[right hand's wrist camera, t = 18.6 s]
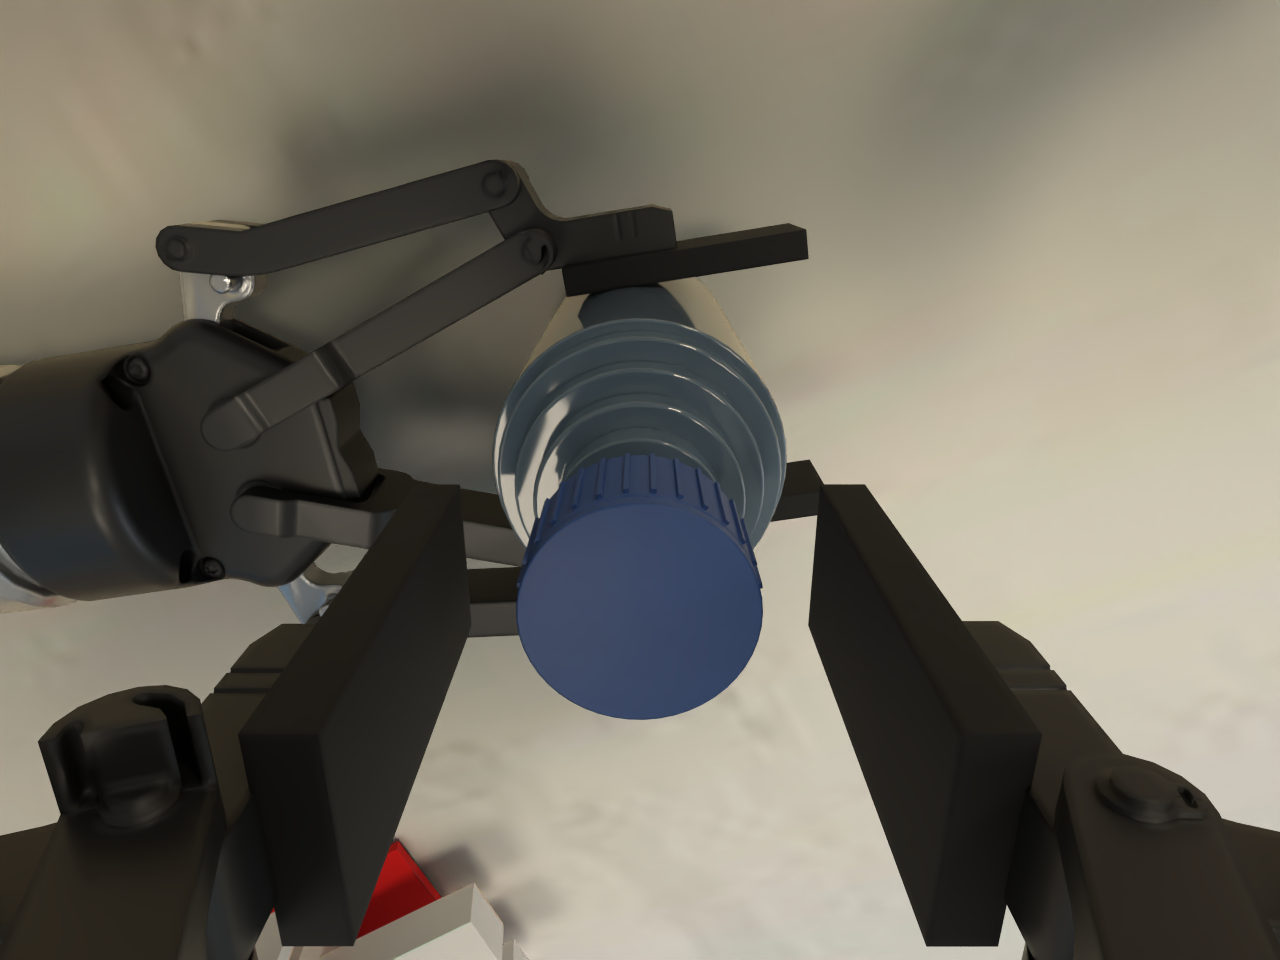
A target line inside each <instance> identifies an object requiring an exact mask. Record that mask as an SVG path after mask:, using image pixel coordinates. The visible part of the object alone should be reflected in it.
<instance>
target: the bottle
mask: <svg viewBox="0 0 1280 960" xmlns="http://www.w3.org/2000/svg"><path fill="white" fill-rule="evenodd" d="M625 453H630V455H650V453H654V454H655V456H657V457H664V458H668V459H671V460H674V458H677V459H679V462H681V463H683V464H685V465H688V466H690V467H692V468H694V469H695V470H696V468H699V469H701V472H702V474H704V475H705V476H706V477H708V478H709V479H710V480H712V481H713V482H714V483H715V482H716V481H717V482H718V483H719V484H720V486H721V490H722V491H723V492H724V493H725V495H726V496H727V497H728V499H729V500H730V499H733V500H734V502H735V505H736V508H737V512H738V515H739V518H740V519H742V518H743V519H744V521H745V525H746V528H747V531H748V535H749V538H750V542H751V545H752V548H753V549H754V547H755V546H756V545H757V543H758V542H759V541H760V539H761V538H762V536H763V534H764V532H765V531H766V529H767V527H768V525H769V523H770V521H771V518H772V516H773V514H774V513H775V510H776V507H777V505H778V502H779V500H780V497H781V493H782V489H783V485H784V481H785V474H786V463H787V455H786V440H785V434H784V429H783V424H782V421H781V418H780V415H779V412H778V409H777V406H776V404H775V402H774V400H773V398H772V396H771V394H770V392H769V390H768V388H767V387H766V385H765V383H764V381H763V380H762V378H761V376H760V375H759V373H758V371H757V369H756V368H755V366H754V364H753V362H752V361H751V359H750V357H749V356H748V354H747V352H746V350H745V349H744V347H743V345H742V344H741V342H740V340H739V338H738V337H737V335H736V333H735V331H734V330H733V328H732V326H731V325H730V323H729V321H728V319H727V318H726V316H725V314H724V312H723V311H722V309H721V307H720V306H719V304H718V302H717V301H716V299H715V298H714V296H713V295H712V293H711V292H710V291H709V290H708V289H707V288H706V286H705V285H704V284H703V283H702V282H701V281H699V280H698V279H697V278H696V277H692V278H685V279H679V280H673V281H667V282H660V283H654V284H648V285H641V286H635V287H629V288H623V289H616V290H610V291H604V292H597V293H591V294H585V295H579V296H572V297H567V295H566V297H565V298H564V299H563V301H562V303H561V305H560V306H559V308H558V310H557V311H556V313H555V315H554V317H553V318H552V320H551V322H550V324H549V325H548V327H547V329H546V330H545V332H544V334H543V336H542V337H541V339H540V341H539V342H538V344H537V346H536V348H535V349H534V351H533V353H532V354H531V356H530V358H529V360H528V361H527V363H526V365H525V367H524V368H523V370H522V372H521V373H520V375H519V377H518V379H517V380H516V382H515V384H514V386H513V387H512V389H511V391H510V393H509V394H508V396H507V398H506V400H505V402H504V405H503V407H502V410H501V412H500V415H499V417H498V421H497V425H496V429H495V434H494V441H493V452H492V458H493V474H494V479H495V485H496V490H497V493H498V496H499V499H500V502H501V505H502V508H503V510H504V512H505V514H506V516H507V518H508V521H509V523H510V525H511V527H512V529H513V531H514V533H515V534H516V536H517V537H518V539H519V540H520V542H521V543H522V545H523V546H524V548H525V549H526V548H527V544H528V541H529V538H530V534H531V531H532V528H533V524H534V521H535V518H536V517H537V518H540V516H541V512H542V509H543V505H544V502H545V500H546V498H549V499H550V498H551V497H552V496H553V495H554V493H555V492H556V491H557V490H558V488H559V484H560V483H561V482H562V481H564V482H566V481H567V480H568V479H570V478H571V477H572V476H574V475H575V474H577V473H578V469H580V468H581V467H583V468H584V469H585V468H587V467H589V466H591V465H593V464H596V463H599V462H600V461H601V459H602V458H606V460H607V459H611V458H616V457H620V456H625Z"/></svg>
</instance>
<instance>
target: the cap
mask: <svg viewBox="0 0 1280 960" xmlns="http://www.w3.org/2000/svg"><path fill="white" fill-rule="evenodd" d="M516 587H518V588H519V589H518V594H517V602H516V621H517V627H518V633H519V637H520V640H521V643H522V646H523V648H524V650H525V652H526V654H527V656H528V658H529V660H530V662H531V663H532V665H533V666H534V668H535V669H536V671H537V672H538V674H539V675H540V676H541V677H542V678H543V679H544V680H545V681H546V682H547V684H549V685H550V686H551V687H552V688H553V689H554V690H555V691H557V692H558V693H559V694H560V695H562V696H563V697H565V698H566V699H568V700H569V701H571V702H573V703H575V704H577V705H579V706H581V707H583V708H585V709H587V710H590V711H593V712H596V713H598V714H602V715H606V716H610V717H615V718H622V719H636V720H646V719H658V718H663V717H668V716H674V715H677V714H680V713H683V712H686V711H689V710H691V709H694V708H696V707H698V706H700V705H702V704H704V703H706V702H707V701H709V700H711V699H712V698H714V697H716V696H717V695H718V694H719V693H721V692H722V691H723V690H725V689H726V688H727V687H728V686H729V685H730V684H731V683H732V682H733V681H734V680H735V679H736V678H737V677H738V675H739V674H740V673H741V672H742V670H743V669H744V668H745V666H746V665H747V663H748V661H749V659H750V658H751V656H752V654H753V652H754V650H755V647H756V645H757V642H758V639H759V635H760V631H761V627H762V616H763V606H762V596H761V591H760V588H763V587H762V582H761V578H760V575H759V571H758V568H757V562H756V558H755V555H754V552H753V548H752V545H751V542H750V538H749V535H748V531H747V528H746V525H745V521H744V519H743V518H742V519H740V518H739V515H738V512H737V508H736V505H735V502H734V500H733V499H730V500H729V499H728V497H727V496H726V495H725V493H724V492H723V491H722V490H721V486H720V484H719V483H718V482H717V481H716V482H715V483H714V482H713V481H712V480H710V479H709V478H708V477H706V476H705V475H704V474H702V472H701V469H699V468H696V470H695V469H694V468H692V467H690V466H688V465H685V464H683V463H681V462H679V459H677V458H674V460H671V459H668V458H664V457H657V456H655V454H654V453H650V455H630V453H625V456H620V457H616V458H611V459H607V460H606V458H602V459H601V461H600V462H599V463H596V464H593V465H591V466H589V467H587V468H585V469H584V468H583V467H581V468H580V469H578V473H577V474H575V475H574V476H572V477H571V478H570V479H568V480H567V481H566V482H564V481H562V482H561V483H560V484H559V488H558V490H557V491H556V492H555V493H554V495H553V496H552V497H551V498H550V499H549V498H546V500H545V502H544V505H543V509H542V512H541V516H540V518H537V517H536V518H535V521H534V524H533V528H532V531H531V534H530V538H529V541H528V544H527V548H526V551H525V554H524V558H523V561H522V567H521V570H520V574H519V577H518V581H517V585H516Z"/></svg>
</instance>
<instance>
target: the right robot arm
mask: <svg viewBox="0 0 1280 960" xmlns="http://www.w3.org/2000/svg"><path fill="white" fill-rule="evenodd" d="M471 626H472V623H471V611H470V599H469V587H468V575H467V563H466V551H465V539H464V527H463V515H462V503H461V491H460V485H414V487H413V488H412V490H411V491H410V492H409V494H408V495H407V497H406V498H405V500H404V501H403V502H402V504H401V505H400V507H399V508H398V509H397V511H396V512H395V514H394V515H393V516H392V518H391V519H390V521H389V522H388V523H387V525H386V526H385V528H384V529H383V530H382V532H381V533H380V535H379V536H378V538H377V539H376V540H375V542H374V543H373V545H372V546H371V547H370V549H369V550H368V552H367V553H366V554H365V556H364V557H363V559H362V560H361V561H360V563H359V564H358V566H357V567H356V568H355V570H354V571H353V573H352V574H351V576H350V577H349V578H348V580H347V581H346V583H345V584H344V585H343V587H342V588H341V590H340V591H339V592H338V594H337V595H336V597H335V598H334V599H333V601H332V602H331V604H330V605H329V606H328V608H327V609H326V611H325V612H324V613H323V615H322V616H321V618H320V619H319V621H318V622H317V623H316V624H281V625H280V626H278V627H277V628H275V629H273V630H272V631H270V632H269V633H267V634H266V635H264V636H262V637H261V638H259V639H258V640H256V641H255V642H253V643H252V644H250V645H249V646H248V648H247V649H246V650H245V651H244V653H243V654H242V655H241V656H240V657H239V659H238V660H237V661H236V662H235V664H234V665H233V666H232V667H231V672H230V673H226V675H225V676H224V677H223V678H222V679H221V681H220V682H219V683H218V684H217V686H216V687H215V688H214V693H210V694H209V695H208V697H207V698H206V699H205V700H204V701H203V703H202V704H201V703H200V699H199V698H198V697H196V696H195V695H194V694H193V693H191V692H190V691H189V690H188V689H183V688H178V687H173V686H168V685H160V686H145V687H136V688H132V689H128V690H124V691H120V692H116V693H112V694H108V695H106V696H103V697H101V698H99V699H96V700H94V701H92V702H89V703H87V704H85V705H82V706H80V707H78V708H76V709H75V710H73V711H72V712H70V713H69V714H67V715H66V716H64V717H63V718H61V719H60V720H58V721H57V722H55V723H54V724H53V725H52V726H51V727H50V728H49V729H48V731H47V732H46V733H45V734H44V735H43V736H42V737H41V739H40V740H39V741H38V744H39V747H40V750H41V753H42V756H43V760H44V763H45V766H46V769H47V772H48V776H49V779H50V782H51V785H52V788H53V791H54V795H55V798H56V801H57V804H58V807H59V810H60V814H61V815H60V818H59V820H58V822H57V823H53V824H50V825H46V826H42V827H38V828H33V829H29V830H24V831H20V832H15V833H10V834H6V835H1V836H0V960H258V956H257V952H256V947H255V944H256V942H257V940H258V938H259V936H260V934H261V932H262V930H263V928H264V926H265V924H266V922H267V920H268V918H269V916H270V914H271V912H272V910H273V908H274V910H275V915H276V920H277V925H278V929H279V934H280V939H281V944H282V946H354V944H355V941H356V938H357V935H358V933H359V930H360V927H361V925H362V922H363V919H364V916H365V914H366V911H367V908H368V906H369V903H370V900H371V897H372V895H373V892H374V889H375V887H376V884H377V881H378V878H379V876H380V873H381V870H382V868H383V865H384V862H385V859H386V857H387V854H388V851H389V849H390V846H391V843H392V840H393V838H394V835H395V832H396V829H397V827H398V824H399V821H400V819H401V816H402V813H403V810H404V808H405V805H406V802H407V800H408V797H409V794H410V791H411V789H412V786H413V783H414V781H415V778H416V775H417V772H418V770H419V767H420V764H421V762H422V759H423V756H424V753H425V751H426V748H427V745H428V743H429V740H430V737H431V734H432V732H433V729H434V726H435V724H436V721H437V718H438V715H439V713H440V710H441V707H442V705H443V702H444V699H445V696H446V694H447V691H448V688H449V686H450V683H451V680H452V677H453V675H454V672H455V669H456V667H457V664H458V661H459V658H460V656H461V653H462V650H463V648H464V645H465V642H466V639H467V637H468V634H469V631H470V629H471ZM808 626H809V629H810V631H811V634H812V637H813V639H814V642H815V645H816V648H817V650H818V653H819V656H820V658H821V661H822V664H823V667H824V669H825V672H826V675H827V677H828V680H829V683H830V686H831V688H832V691H833V694H834V696H835V699H836V702H837V705H838V707H839V710H840V713H841V715H842V718H843V721H844V724H845V726H846V729H847V732H848V734H849V737H850V740H851V743H852V745H853V748H854V751H855V753H856V756H857V759H858V762H859V764H860V767H861V770H862V772H863V775H864V778H865V781H866V783H867V786H868V789H869V791H870V794H871V797H872V800H873V802H874V805H875V808H876V810H877V813H878V816H879V819H880V821H881V824H882V827H883V830H884V832H885V835H886V838H887V840H888V843H889V846H890V849H891V851H892V854H893V857H894V859H895V862H896V865H897V868H898V870H899V873H900V876H901V878H902V881H903V884H904V887H905V889H906V892H907V895H908V897H909V900H910V903H911V906H912V908H913V911H914V914H915V916H916V919H917V922H918V925H919V927H920V930H921V933H922V935H923V938H924V941H925V944H926V946H998V944H999V939H1000V934H1001V929H1002V924H1003V920H1004V915H1005V910H1006V905H1007V906H1008V908H1009V910H1010V912H1011V914H1012V916H1013V918H1014V920H1015V922H1016V924H1017V926H1018V928H1019V930H1020V932H1021V934H1022V936H1023V938H1024V940H1025V942H1026V943H1025V947H1024V952H1023V956H1022V960H1280V832H1278V831H1273V830H1268V829H1264V828H1259V827H1255V826H1250V825H1245V824H1241V823H1236V822H1233V821H1229V820H1226V819H1222V818H1221V816H1220V814H1219V812H1218V811H1217V810H1216V808H1215V807H1214V806H1213V804H1212V803H1211V802H1210V800H1209V799H1208V798H1207V796H1206V795H1205V794H1204V793H1203V792H1201V791H1200V790H1199V789H1198V788H1196V787H1195V786H1194V785H1192V784H1191V783H1190V782H1188V781H1187V780H1186V779H1184V778H1183V777H1182V776H1180V775H1178V774H1176V773H1174V772H1172V771H1170V770H1168V769H1166V768H1164V767H1162V766H1160V765H1158V764H1155V763H1153V762H1150V761H1146V760H1143V759H1139V758H1136V757H1132V756H1129V755H1125V754H1123V753H1122V752H1121V751H1120V750H1119V749H1118V747H1117V746H1116V745H1115V744H1114V743H1113V741H1112V740H1111V739H1110V738H1109V736H1108V735H1107V734H1106V733H1105V732H1104V730H1103V729H1102V728H1101V727H1100V726H1099V724H1098V723H1097V722H1096V721H1095V719H1094V718H1093V717H1092V716H1091V715H1090V713H1089V712H1088V711H1087V710H1086V709H1085V707H1084V706H1083V705H1082V704H1081V703H1080V701H1079V700H1078V699H1077V698H1076V696H1075V695H1074V694H1073V693H1072V692H1071V690H1067V689H1066V684H1065V683H1064V682H1063V681H1062V679H1061V678H1060V677H1059V676H1058V675H1057V673H1056V672H1055V671H1054V670H1050V665H1049V664H1048V662H1047V661H1046V660H1045V659H1044V658H1043V656H1042V655H1041V654H1040V653H1039V652H1038V650H1037V649H1036V648H1035V647H1034V646H1033V644H1032V643H1031V642H1030V641H1029V640H1027V639H1025V638H1024V637H1022V636H1021V635H1019V634H1018V633H1016V632H1014V631H1013V630H1011V629H1010V628H1008V627H1007V626H1005V625H1003V624H1002V623H1000V622H999V621H961V619H960V618H959V616H958V615H957V613H956V612H955V611H954V609H953V608H952V606H951V605H950V604H949V602H948V601H947V599H946V598H945V597H944V595H943V594H942V592H941V591H940V590H939V588H938V587H937V585H936V584H935V583H934V581H933V580H932V578H931V577H930V576H929V574H928V573H927V571H926V570H925V568H924V567H923V566H922V564H921V563H920V561H919V560H918V559H917V557H916V556H915V554H914V553H913V552H912V550H911V549H910V547H909V546H908V545H907V543H906V542H905V540H904V539H903V538H902V536H901V535H900V533H899V532H898V530H897V529H896V528H895V526H894V525H893V523H892V522H891V521H890V519H889V518H888V516H887V515H886V514H885V512H884V511H883V509H882V508H881V507H880V505H879V504H878V502H877V501H876V500H875V498H874V497H873V495H872V494H871V492H870V491H869V490H868V488H867V487H866V485H820V491H819V503H818V515H817V527H816V539H815V551H814V563H813V575H812V587H811V599H810V611H809V623H808Z"/></svg>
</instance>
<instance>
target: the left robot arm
mask: <svg viewBox="0 0 1280 960" xmlns="http://www.w3.org/2000/svg"><path fill="white" fill-rule="evenodd" d="M486 212H489V214H490V215H491V217H492V219H493V221H494V222H495V224H496V226H497V227H498V229H499V231H500V232H501V234H502V236H503V238H504V239H505V240H504V241H503V242H501V243H499V244H497V245H496V246H494V247H492V248H491V249H489V250H487V251H485V252H484V253H482V254H480V255H479V256H477V257H475V258H473V259H472V260H470V261H468V262H467V263H465V264H463V265H461V266H460V267H458V268H456V269H455V270H453V271H451V272H449V273H448V274H446V275H444V276H443V277H441V278H439V279H437V280H436V281H434V282H432V283H430V284H429V285H427V286H425V287H424V288H422V289H420V290H418V291H417V292H415V293H413V294H412V295H410V296H408V297H406V298H405V299H403V300H401V301H400V302H398V303H396V304H394V305H393V306H391V307H389V308H388V309H386V310H384V311H382V312H381V313H379V314H377V315H375V316H374V317H372V318H370V319H369V320H367V321H365V322H363V323H362V324H360V325H358V326H357V327H355V328H353V329H351V330H350V331H348V332H346V333H345V334H343V335H341V336H339V337H338V338H336V339H334V340H333V341H331V342H329V343H327V344H326V345H324V346H322V347H320V348H319V349H317V350H315V351H313V352H312V353H308V352H306V351H304V350H302V349H300V348H297V347H295V346H293V345H291V344H289V343H287V342H285V341H283V340H281V339H278V338H276V337H274V336H272V335H270V334H268V333H266V332H264V331H261V330H259V329H257V328H255V327H253V326H251V325H249V324H247V323H244V322H242V321H240V320H238V319H236V318H234V309H235V307H236V305H237V303H238V302H239V301H241V300H245V299H248V298H251V297H254V296H257V295H258V294H260V293H262V292H263V291H264V289H265V288H266V285H267V281H268V273H272V272H277V271H280V270H284V269H287V268H291V267H294V266H298V265H301V264H305V263H309V262H312V261H316V260H319V259H323V258H326V257H330V256H333V255H337V254H341V253H344V252H348V251H351V250H355V249H358V248H362V247H365V246H369V245H373V244H376V243H380V242H383V241H387V240H390V239H394V238H397V237H401V236H405V235H408V234H412V233H415V232H419V231H422V230H426V229H429V228H433V227H437V226H440V225H444V224H447V223H451V222H454V221H458V220H461V219H465V218H469V217H472V216H476V215H479V214H483V213H486ZM156 250H157V253H158V256H159V257H160V259H161V260H162V261H163V263H164V264H165V265H167V266H168V267H169V268H171V269H173V270H176V271H179V276H180V286H181V296H182V305H183V315H184V321H182V322H180V323H178V324H176V325H175V326H173V327H172V328H171V329H170V330H169V331H168V332H167V333H166V334H164V335H163V336H162V337H161V338H159V339H158V340H156V341H151V342H144V343H138V344H132V345H126V346H119V347H113V348H107V349H101V350H94V351H88V352H82V353H76V354H70V355H63V356H57V357H51V358H45V359H40V360H36V361H32V362H30V363H28V364H25V365H23V366H21V365H11V364H7V365H1V366H0V614H2V613H10V612H18V611H27V610H35V609H43V608H51V607H58V606H61V605H65V604H69V603H73V602H76V601H78V600H83V601H93V600H101V599H108V598H115V597H122V596H129V595H136V594H143V593H150V592H157V591H164V590H171V589H178V588H185V587H191V586H196V585H200V584H205V583H209V582H213V581H217V580H222V579H239V580H244V581H248V582H252V583H255V584H258V585H261V586H266V587H278V589H279V590H280V592H281V593H282V595H283V596H284V598H285V599H286V601H287V602H288V604H289V605H290V607H291V608H292V610H293V612H294V613H295V615H296V616H297V618H298V619H299V621H300V622H301V624H316V623H317V622H318V621H319V619H320V618H321V616H322V615H323V613H324V612H325V611H326V609H327V608H328V606H329V605H330V604H331V602H332V601H333V599H334V598H335V597H336V595H337V594H338V592H339V591H340V590H341V588H342V587H343V585H344V584H345V583H346V581H347V580H348V578H349V577H350V576H351V574H352V573H353V571H348V572H340V573H327V572H325V571H323V570H321V569H320V568H318V567H317V566H316V565H315V563H314V561H315V560H316V559H317V558H318V557H319V556H320V555H321V554H322V553H323V552H324V551H325V550H326V548H327V547H328V546H329V545H330V544H331V543H335V544H341V545H347V546H353V547H359V548H364V549H370V547H371V546H372V545H373V543H374V542H375V540H376V539H377V538H378V536H379V535H380V533H381V532H382V530H383V529H384V528H385V526H386V525H387V523H388V522H389V521H390V519H391V518H392V516H393V515H394V514H395V512H396V511H397V509H398V508H399V507H400V505H401V504H402V502H403V501H404V500H405V498H406V497H407V495H408V494H409V492H410V491H411V490H412V488H413V487H414V485H439V484H433V483H427V482H422V481H417V480H414V479H413V478H412V477H411V476H410V475H408V474H406V473H403V472H399V471H393V470H387V469H382V468H378V467H377V463H376V460H375V456H374V453H373V450H372V449H371V447H370V445H369V444H368V442H367V440H366V438H365V437H364V435H363V433H362V432H361V430H360V404H359V400H358V397H357V393H356V390H355V386H354V383H353V381H354V380H355V379H357V378H359V377H360V376H362V375H364V374H366V373H367V372H369V371H371V370H373V369H375V368H376V367H378V366H380V365H382V364H383V363H385V362H387V361H389V360H390V359H392V358H394V357H396V356H397V355H399V354H401V353H403V352H404V351H406V350H408V349H410V348H411V347H413V346H415V345H417V344H418V343H420V342H422V341H424V340H425V339H427V338H429V337H431V336H433V335H434V334H436V333H438V332H440V331H441V330H443V329H445V328H447V327H448V326H450V325H452V324H454V323H455V322H457V321H459V320H461V319H462V318H464V317H466V316H468V315H469V314H471V313H473V312H475V311H476V310H478V309H480V308H482V307H484V306H485V305H487V304H489V303H491V302H492V301H494V300H496V299H498V298H499V297H501V296H503V295H505V294H506V293H508V292H510V291H512V290H513V289H515V288H517V287H519V286H520V285H522V284H524V283H526V282H527V281H529V280H531V279H533V278H534V277H536V276H538V275H540V274H543V273H545V272H546V271H548V270H554V269H560V268H562V273H563V279H564V284H565V289H566V295H567V297H572V296H579V295H585V294H591V293H597V292H604V291H610V290H616V289H623V288H629V287H635V286H641V285H648V284H654V283H660V282H667V281H673V280H679V279H685V278H692V277H698V276H704V275H710V274H717V273H723V272H729V271H736V270H742V269H748V268H754V267H761V266H767V265H773V264H780V263H786V262H792V261H798V260H805V259H808V246H807V234H806V229H803V228H800V227H798V226H795V225H792V224H789V223H787V224H781V225H775V226H768V227H762V228H756V229H750V230H744V231H738V232H731V233H725V234H719V235H713V236H707V237H700V238H694V239H688V240H682V241H676V235H675V228H674V221H673V213H672V210H671V209H669V208H664V207H660V206H656V205H646V206H639V207H633V208H627V209H621V210H615V211H609V212H603V213H597V214H591V215H585V216H579V217H573V218H562V217H558V216H556V215H554V214H552V213H550V212H549V211H548V210H547V209H546V208H545V207H544V205H543V204H542V203H541V201H540V199H539V197H538V196H537V194H536V192H535V190H534V188H533V187H532V185H531V183H530V181H529V177H528V175H527V173H526V171H525V169H524V168H523V167H522V166H521V165H520V164H518V163H516V162H513V161H509V160H487V161H484V162H480V163H477V164H473V165H470V166H466V167H463V168H459V169H456V170H452V171H449V172H445V173H442V174H438V175H435V176H431V177H428V178H424V179H421V180H417V181H414V182H410V183H407V184H404V185H400V186H397V187H393V188H390V189H386V190H383V191H379V192H376V193H372V194H369V195H365V196H362V197H358V198H355V199H351V200H348V201H344V202H341V203H337V204H334V205H330V206H327V207H323V208H320V209H316V210H313V211H310V212H306V213H303V214H299V215H296V216H292V217H289V218H285V219H282V220H278V221H275V222H271V223H268V224H257V223H247V222H236V221H226V220H215V221H206V222H196V223H188V224H182V225H174V226H167V227H166V228H164V229H162V230H161V231H160V232H159V234H158V236H157V238H156ZM820 485H824V484H823V482H822V480H821V478H820V477H819V475H818V473H817V472H816V470H815V468H814V466H813V465H812V463H811V461H810V460H804V461H797V462H790V463H786V474H785V481H784V485H783V489H782V493H781V497H780V500H779V502H778V505H777V507H776V510H775V513H774V514H773V516H772V518H771V521H770V522H772V521H779V520H786V519H793V518H801V517H808V516H815V515H818V503H819V491H820ZM460 491H461V503H462V515H463V527H464V539H465V551H466V558H471V559H477V560H483V561H489V562H495V563H501V564H507V565H513V566H519V567H508V568H487V569H467V575H468V587H469V599H470V611H471V623H472V626H471V629H470V631H469V634H468V637H490V636H512V635H519V633H518V627H517V621H516V602H517V594H518V589H519V588H518V587H516V585H517V581H518V577H519V574H520V570H521V567H522V561H523V558H524V554H525V551H526V549H525V548H524V546H523V545H522V543H521V542H520V540H519V539H518V537H517V536H516V534H515V533H514V531H513V529H512V527H511V525H510V523H509V521H508V518H507V516H506V514H505V512H504V510H503V508H502V505H501V502H500V499H499V496H498V495H496V494H490V493H485V492H479V491H473V490H467V489H462V488H460ZM468 637H467V638H468Z"/></svg>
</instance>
